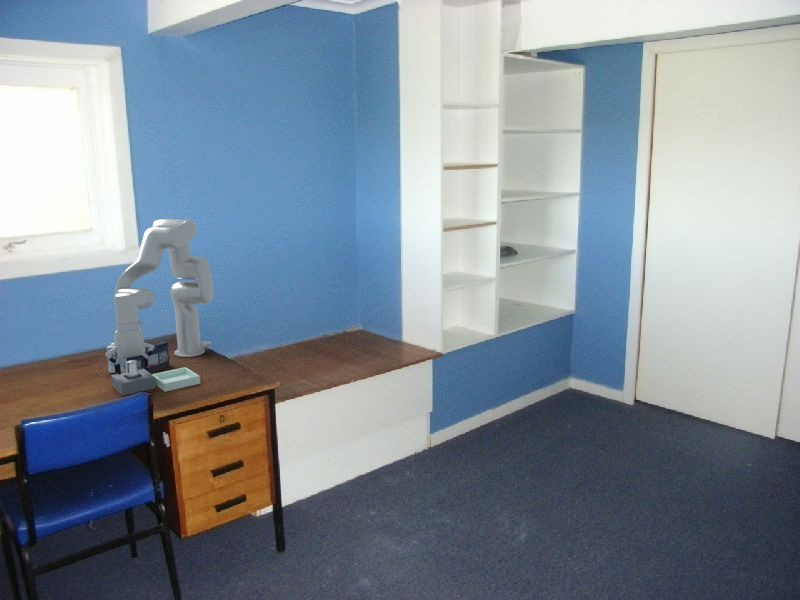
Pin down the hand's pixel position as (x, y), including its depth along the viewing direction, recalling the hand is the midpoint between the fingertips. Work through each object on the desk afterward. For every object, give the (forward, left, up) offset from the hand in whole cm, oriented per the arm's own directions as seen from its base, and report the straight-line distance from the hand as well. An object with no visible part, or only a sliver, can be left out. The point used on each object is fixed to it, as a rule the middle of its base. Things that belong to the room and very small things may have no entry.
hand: (132, 371), depth 253 cm
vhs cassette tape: (-11, -15, -7) cm, 20 cm away
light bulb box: (-4, -23, -7) cm, 24 cm away
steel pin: (0, 0, -7) cm, 6 cm away
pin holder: (0, 0, -6) cm, 6 cm away
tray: (-14, +5, -6) cm, 16 cm away
